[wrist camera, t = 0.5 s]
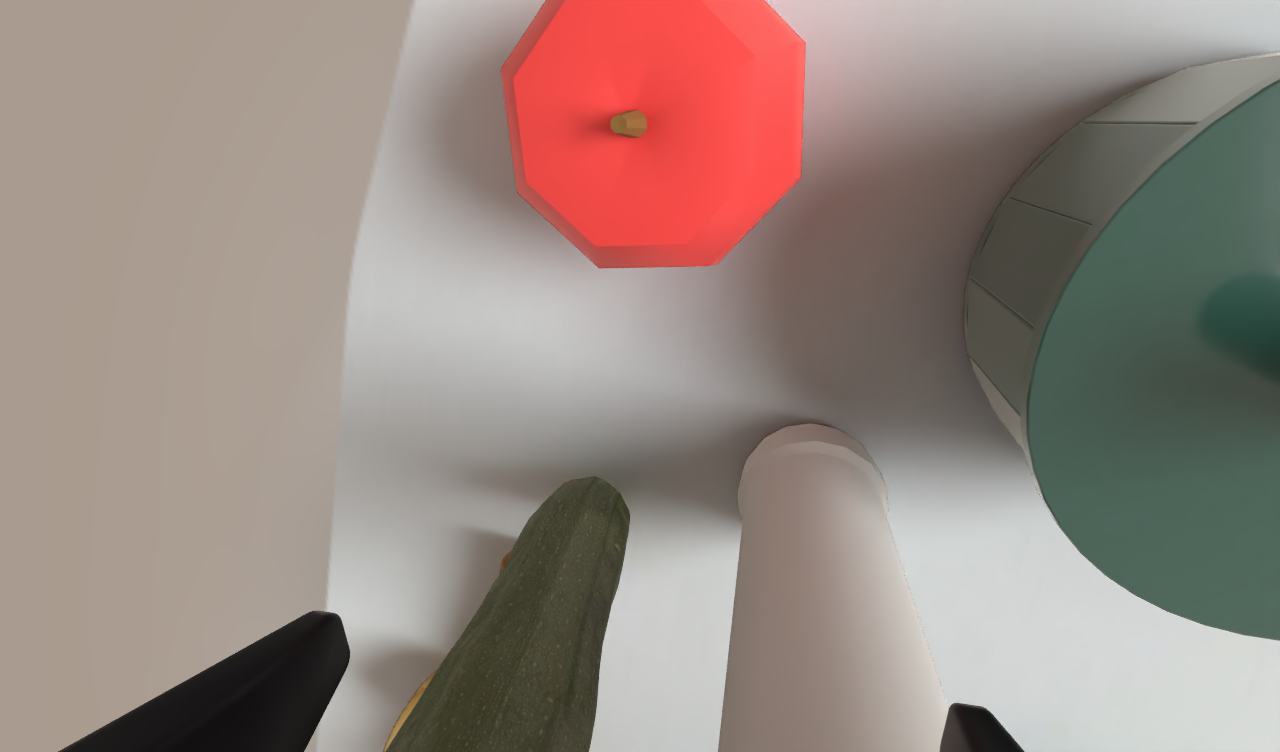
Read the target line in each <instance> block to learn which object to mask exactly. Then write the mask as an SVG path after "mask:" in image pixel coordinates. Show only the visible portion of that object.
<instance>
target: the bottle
mask: <svg viewBox="0 0 1280 752" xmlns="http://www.w3.org/2000/svg"><path fill="white" fill-rule="evenodd" d="M737 503H738V508H739V512H740V517H741V521H742V533H741V543H740V552H739V561H738V571H737V580H736V589H735V599H734V608H733V617H732V626H731V636H730V645H729V654H728V664H727V673H726V682H725V692H724V701H723V710H722V719H721V729H720V738H719V747H718V752H940V744H941V739H942V735H943V731H944V727H945V723H946V718H947V714H948V710H949V707H948V704H947V701H946V698H945V695H944V692H943V689H942V686H941V683H940V680H939V677H938V674H937V670H936V667H935V664H934V661H933V658H932V655H931V652H930V649H929V646H928V643H927V640H926V637H925V634H924V630H923V627H922V624H921V621H920V618H919V615H918V612H917V609H916V606H915V603H914V600H913V597H912V593H911V590H910V587H909V584H908V581H907V578H906V575H905V572H904V569H903V566H902V563H901V560H900V557H899V553H898V550H897V547H896V544H895V541H894V538H893V535H892V532H891V529H890V526H889V523H888V520H887V515H888V513H889V506H888V498H887V490H886V484H885V481H884V479H883V476H882V474H881V472H880V470H879V469H878V467H877V466H876V464H875V463H874V461H873V460H872V458H871V457H870V455H869V454H868V452H867V451H866V449H865V448H864V446H863V445H862V444H860V443H859V442H858V441H856V440H854V439H853V438H851V437H850V436H848V435H847V434H845V433H844V432H842V431H841V430H839V429H837V428H832V427H828V426H823V425H819V424H814V423H809V424H801V425H793V426H786V427H784V428H782V429H780V430H778V431H776V432H774V433H773V434H771V435H769V436H767V437H765V438H764V439H763V440H762V441H761V442H760V444H759V445H758V446H757V447H756V448H755V450H754V451H753V452H752V453H751V454H750V456H749V457H748V458H747V460H746V462H745V465H744V469H743V473H742V477H741V481H740V485H739V489H738V495H737Z"/></svg>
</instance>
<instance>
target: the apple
mask: <svg viewBox="0 0 1280 752" xmlns="http://www.w3.org/2000/svg"><path fill="white" fill-rule="evenodd" d="M805 48H806V43H805V42H804V41H803V40H802V39H801V38H800V37H799V35H798V34H797V33H796V32H795V31H794V30H793V29H792V28H791V27H790V26H789V25H788V24H787V23H786V22H785V21H784V20H783V19H782V18H781V17H780V16H779V15H778V14H777V13H776V12H775V11H774V9H773V8H772V7H771V6H770V5H769V4H768V3H767V2H766V1H765V0H546V1H545V2H544V4H543V5H542V7H541V8H540V10H539V11H538V13H537V15H536V16H535V18H534V19H533V21H532V22H531V24H530V25H529V27H528V28H527V30H526V31H525V33H524V34H523V36H522V38H521V39H520V41H519V42H518V44H517V45H516V47H515V48H514V50H513V51H512V53H511V54H510V56H509V57H508V59H507V61H506V62H505V64H504V65H503V67H502V68H501V76H502V83H503V91H504V98H505V106H506V113H507V121H508V128H509V136H510V143H511V151H512V158H513V166H514V173H515V181H516V188H517V193H518V194H519V195H520V196H521V197H523V198H524V199H525V200H526V201H527V202H528V203H529V204H530V205H531V206H532V207H533V208H534V209H536V210H537V211H538V212H539V213H540V214H541V215H542V216H543V217H544V218H545V219H546V220H547V221H549V222H550V223H551V224H552V225H553V226H554V227H555V228H556V229H557V230H558V231H559V232H560V233H562V234H563V235H564V236H565V237H566V238H567V239H568V240H569V241H570V242H571V243H572V244H573V245H575V246H576V247H577V248H578V249H579V250H580V251H581V252H582V253H583V254H584V255H585V256H586V257H587V258H589V259H590V260H591V261H592V262H593V263H594V264H595V265H596V266H597V267H598V268H639V267H689V266H711V265H715V264H718V263H719V262H720V261H721V260H722V259H723V258H724V257H725V256H726V255H727V254H728V253H729V252H730V250H731V249H732V248H733V247H734V246H735V245H736V244H737V243H738V242H739V241H740V240H741V239H742V238H743V237H744V236H745V235H746V234H747V233H748V232H749V231H750V230H751V229H752V228H753V227H754V226H755V225H756V224H757V223H758V222H759V221H760V220H761V219H762V218H763V217H764V216H765V215H766V214H767V213H768V212H769V211H770V209H771V208H772V207H773V206H774V205H775V204H776V203H777V202H778V201H779V200H780V199H781V198H782V197H783V196H784V195H785V194H786V193H787V192H788V191H789V190H790V189H791V188H792V187H793V186H794V185H795V184H796V183H797V182H798V181H799V180H800V179H801V162H802V134H803V105H804V77H805Z"/></svg>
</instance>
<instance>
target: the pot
mask: <svg viewBox="0 0 1280 752" xmlns="http://www.w3.org/2000/svg"><path fill="white" fill-rule="evenodd" d="M1279 71H1280V52H1275V53H1269V54H1263V55H1257V56H1251V57H1245V58H1238V59H1230V60H1226V61H1221V62H1215V63H1209V64H1203V65H1197V66H1191V67H1189V68H1184V69H1182V70H1180V71H1178V72H1176V73H1174V74H1172V75H1170V76H1168V77H1165V78H1162V79H1159V80H1156V81H1154V82H1152V83H1150V84H1148V85H1145V86H1143V87H1141V88H1139V89H1137V90H1135V91H1132V92H1130V93H1128V94H1126V95H1124V96H1122V97H1120V98H1118V99H1117V100H1115V101H1113V102H1112V103H1110V104H1108V105H1107V106H1105V107H1103V108H1101V109H1100V110H1098V111H1096V112H1095V113H1093V114H1091V115H1090V116H1088V117H1087V118H1086V119H1084V120H1083V121H1082V122H1080V123H1079V124H1078V125H1076V126H1075V127H1074V128H1072V129H1071V130H1069V131H1068V132H1067V133H1065V134H1064V135H1063V136H1061V137H1060V138H1059V139H1058V140H1057V141H1056V142H1055V143H1054V144H1053V145H1052V146H1050V147H1049V148H1048V149H1047V150H1046V151H1045V152H1044V153H1043V154H1042V155H1041V156H1039V157H1038V158H1037V159H1036V160H1035V161H1034V163H1033V164H1032V165H1031V166H1030V167H1029V168H1028V169H1027V170H1026V171H1025V173H1024V174H1023V175H1022V176H1021V177H1020V178H1019V179H1018V180H1017V182H1016V183H1015V184H1014V185H1013V187H1012V188H1011V189H1010V191H1009V192H1008V194H1007V195H1006V197H1005V198H1004V199H1003V201H1002V202H1001V204H1000V205H999V206H998V208H997V209H996V211H995V213H994V215H993V216H992V218H991V220H990V222H989V224H988V226H987V227H986V229H985V231H984V233H983V235H982V237H981V240H980V242H979V245H978V247H977V250H976V252H975V255H974V257H973V260H972V263H971V267H970V271H969V275H968V279H967V283H966V288H965V298H964V307H963V320H964V337H965V341H966V346H967V355H968V357H969V359H970V362H971V365H972V367H973V370H974V373H975V375H976V378H977V380H978V382H979V383H980V385H981V387H982V389H983V390H984V392H985V394H986V395H987V397H988V399H989V402H990V404H991V406H992V408H993V410H994V412H995V414H996V415H997V417H998V418H999V419H1000V421H1001V422H1002V423H1003V424H1004V426H1005V427H1006V428H1007V430H1008V431H1009V432H1010V434H1011V435H1012V436H1013V438H1014V439H1015V440H1016V442H1017V443H1018V444H1019V446H1020V447H1021V448H1022V449H1023V451H1024V446H1023V440H1022V435H1021V429H1020V392H1021V385H1022V378H1023V371H1024V365H1025V358H1026V355H1027V352H1028V348H1029V345H1030V342H1031V338H1032V335H1033V332H1034V328H1035V325H1036V322H1037V319H1038V317H1039V315H1040V313H1041V310H1042V308H1043V306H1044V304H1045V302H1046V300H1047V297H1048V295H1049V293H1050V291H1051V289H1052V287H1053V284H1054V282H1055V280H1056V279H1057V277H1058V276H1059V274H1060V272H1061V271H1062V269H1063V268H1064V266H1065V264H1066V263H1067V261H1068V259H1069V258H1070V256H1071V255H1072V253H1073V251H1074V250H1075V248H1076V247H1077V245H1078V243H1079V242H1080V241H1081V239H1082V238H1083V237H1084V236H1085V234H1086V233H1087V232H1088V230H1089V229H1090V228H1091V227H1092V225H1093V224H1094V223H1095V222H1096V220H1097V219H1098V218H1099V217H1100V215H1101V214H1102V213H1103V212H1104V210H1105V209H1106V208H1107V206H1108V205H1109V204H1110V203H1111V202H1112V201H1113V200H1114V199H1115V198H1116V197H1117V195H1118V194H1119V193H1120V192H1121V191H1122V190H1123V189H1124V188H1125V187H1126V186H1127V185H1128V184H1129V183H1130V182H1131V181H1132V180H1133V179H1134V178H1135V177H1136V176H1137V175H1138V174H1139V173H1140V172H1141V171H1142V170H1143V169H1144V168H1145V167H1146V166H1147V165H1148V164H1149V163H1150V162H1151V161H1152V160H1154V159H1155V158H1156V157H1157V156H1158V155H1160V154H1161V153H1162V152H1163V151H1164V150H1166V149H1167V148H1168V147H1169V146H1170V145H1172V144H1173V143H1174V142H1175V141H1176V140H1178V139H1179V138H1180V137H1181V136H1182V135H1184V134H1185V133H1186V132H1187V131H1188V130H1190V129H1191V128H1192V127H1193V126H1194V125H1196V124H1197V123H1199V122H1200V121H1201V120H1203V119H1204V118H1206V117H1207V116H1209V115H1210V114H1212V113H1213V112H1215V111H1216V110H1218V109H1219V108H1220V107H1222V106H1223V105H1225V104H1226V103H1228V102H1229V101H1231V100H1232V99H1234V98H1235V97H1237V96H1238V95H1239V94H1241V93H1242V92H1244V91H1245V90H1247V89H1248V88H1250V87H1252V86H1254V85H1255V84H1257V83H1259V82H1261V81H1263V80H1264V79H1266V78H1268V77H1270V76H1272V75H1273V74H1275V73H1277V72H1279ZM1024 452H1025V451H1024Z"/></svg>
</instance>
